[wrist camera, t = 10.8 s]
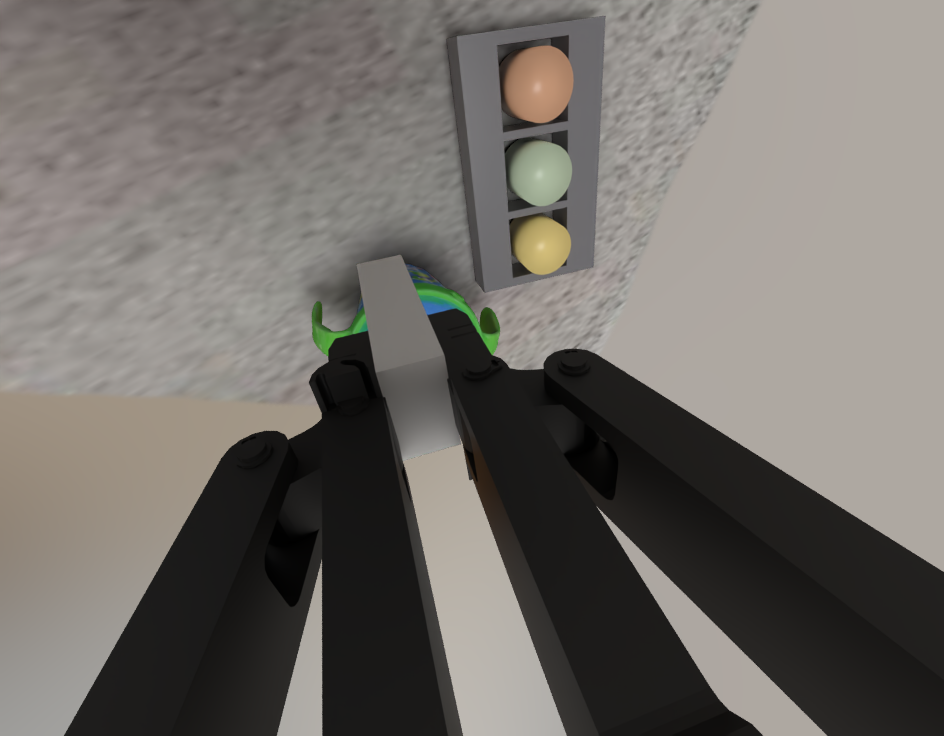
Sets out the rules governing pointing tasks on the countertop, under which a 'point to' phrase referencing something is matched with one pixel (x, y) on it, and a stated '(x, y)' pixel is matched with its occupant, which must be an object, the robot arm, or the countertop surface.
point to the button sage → (537, 171)
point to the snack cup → (432, 301)
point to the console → (486, 137)
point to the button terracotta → (535, 83)
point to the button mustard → (539, 243)
